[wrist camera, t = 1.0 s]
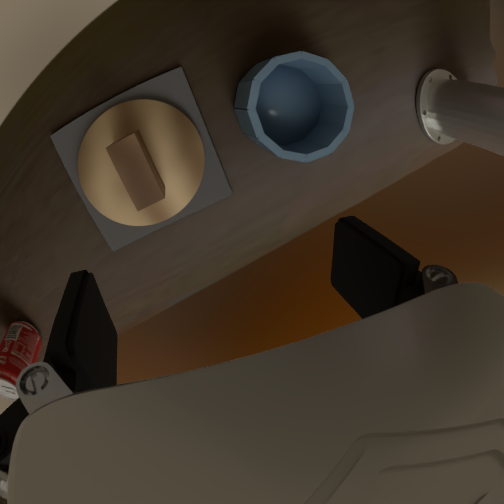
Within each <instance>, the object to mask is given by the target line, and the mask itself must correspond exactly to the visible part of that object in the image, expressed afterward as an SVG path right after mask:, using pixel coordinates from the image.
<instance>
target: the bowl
mask: <svg viewBox="0 0 504 504" xmlns="http://www.w3.org/2000/svg"><path fill="white" fill-rule="evenodd" d="M234 108H235V109H234V111H235V113H236V116H237V119H238V121H239V124H240V127H241V130H242V132H243V133H244V134H245V135H246V136H248V137H249V138H250V139H251V140H252V141H254V142H255V143H256V144H257V145H259V146H260V147H261V148H262V149H264V150H266V151H268V152H270V153H272V154H274V155H276V156H277V157H279V158H284V159H289V160H295V161H301V162H310V161H312V160H315V159H318V158H320V157H323V156H326V155H328V154H331V153H332V152H333V151H334V150H335V149H336V148H337V146H338V145H339V144H340V143H341V142H342V140H343V139H344V138H345V137H346V136H347V135H348V133H347V132H349V130H350V125H351V121H352V116H353V112H354V103H353V99H352V95H351V91H350V87H349V84H348V81H347V79H346V78H345V77H344V76H343V75H342V73H341V72H340V71H339V70H338V69H337V68H336V67H335V66H334V65H333V64H332V63H331V62H330V60H328V59H325V58H323V57H320V56H317V55H314V54H311V53H307V52H304V51H298V52H294V53H289V54H285V55H281V56H277V57H273V58H271V59H268V60H265V61H263V62H260V63H257V64H255V66H254V67H253V68H252V69H251V70H250V71H249V72H248V73H247V74H246V75H245V76H244V77H243V78H242V79H241V81H240V82H239V83H238V88H237V93H236V98H235V103H234Z"/></svg>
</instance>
